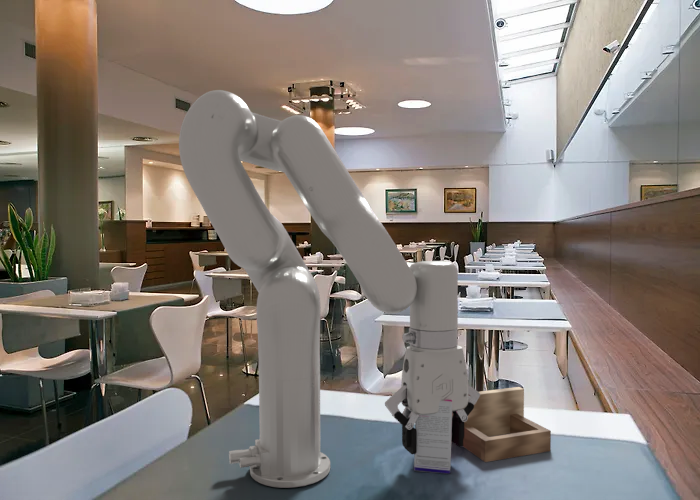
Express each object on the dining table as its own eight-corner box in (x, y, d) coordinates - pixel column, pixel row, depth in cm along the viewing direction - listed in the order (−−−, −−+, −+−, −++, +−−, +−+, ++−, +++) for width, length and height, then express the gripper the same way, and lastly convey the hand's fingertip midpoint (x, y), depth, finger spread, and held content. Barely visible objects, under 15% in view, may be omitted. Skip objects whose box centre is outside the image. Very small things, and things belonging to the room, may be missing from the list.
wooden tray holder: (455, 467, 87) (455, 417, 87) (424, 442, 97) (424, 398, 97) (557, 449, 94) (558, 403, 94) (518, 428, 104) (519, 386, 104)
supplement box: (451, 474, 85) (452, 401, 84) (413, 471, 86) (413, 399, 85) (452, 459, 90) (452, 390, 90) (416, 456, 92) (416, 388, 91)
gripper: (393, 347, 81) (393, 465, 82) (493, 339, 87) (493, 448, 87) (374, 338, 88) (374, 446, 89) (468, 330, 94) (468, 432, 95)
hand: (433, 446), depth 88 cm, fingers closed on supplement box, 7 cm apart
